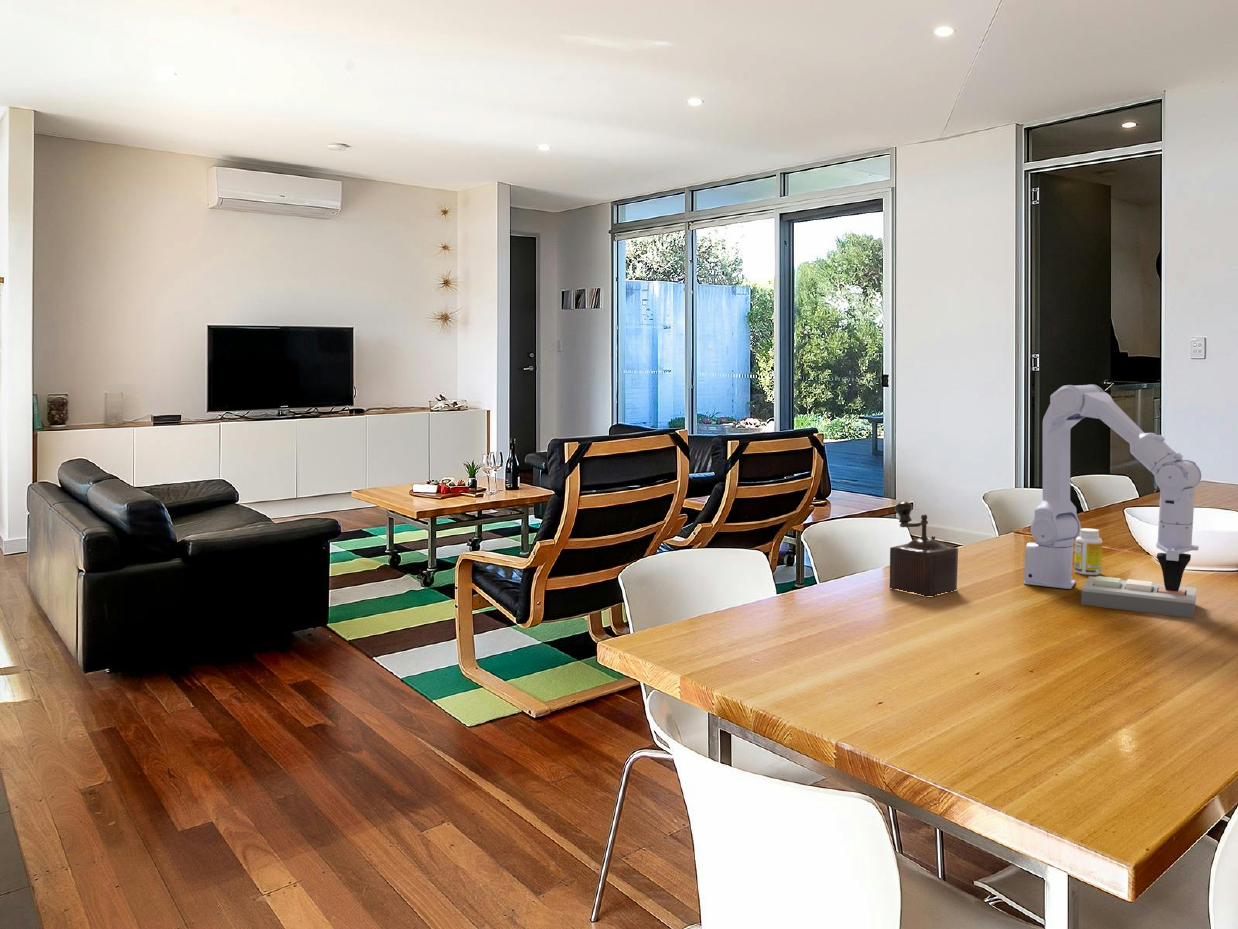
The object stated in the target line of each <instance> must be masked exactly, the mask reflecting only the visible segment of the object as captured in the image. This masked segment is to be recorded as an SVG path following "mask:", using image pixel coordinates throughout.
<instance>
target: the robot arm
mask: <svg viewBox="0 0 1238 929" xmlns="http://www.w3.org/2000/svg"><path fill="white" fill-rule="evenodd" d="M1049 402H1050V404H1049V405H1048V408H1047V410H1046V412H1045V414H1044V416H1043V419H1042V501H1041V502H1040V503H1039V504H1038V505H1037V507H1036V508H1035V509H1034V518H1033V520H1032V522H1031V525H1030V533H1031V535H1032V538H1033V540H1034V541H1035V542H1027V544H1026V545H1025V546H1026V547H1025V553H1024V570H1023V571H1024V572H1023V575H1024V576H1023V584H1025V585H1030V586H1039V587H1040V586H1041V587H1047V588H1056V589H1057V588H1058V589H1064V590H1065V589H1067V590H1071V589H1072V588H1073V586H1074V585H1075V583H1076V579H1072V578H1073V561H1074V560H1073V558H1074V557H1073V556H1074V555H1073V554H1074V544H1075V540H1076V538H1077V537H1079V536H1080V534H1079V533H1080V530H1081V529H1082V527H1081V526H1082V525H1081V522H1080V519H1079V518H1078V514H1077V507H1076V505H1074V503H1073V502H1072V501H1071V430H1072V428H1073V427H1074V426H1076V425H1077V423H1079V422H1080V421H1082V420H1083V419H1085V418H1091V419H1099V420H1100V421H1101V422H1103V423H1104V424H1105V425H1107V426H1108V427H1109V428H1110V429H1111V430H1112V431H1113V432H1115V433H1116V434H1117V435H1119V436H1120V437H1121V438H1122V439H1123V440H1125V442H1127V443H1128V444H1129V452H1130V454H1131V455H1132V456H1133V457H1134V458H1135V459H1136V460H1137V461H1138V462H1140V463H1141V464H1142V465H1143V467H1145V468H1146V469H1147V470H1148V471H1149V472H1150V473H1151V474H1152V475H1154V481H1155V483H1156V485H1157V487H1158V488H1159V496H1160V497H1159V511H1158V512H1159V514H1158V529H1157V542H1156V543H1155V546H1156V548H1157V549H1159V550H1161V551H1163V552H1158V553H1157V554H1156V559H1157V561H1158V563H1159V565H1160V567H1161V572H1162V577H1163V578H1162V579H1163V584H1164V585H1165V589H1166V590H1169V591H1178V590H1179V587H1180V586H1181V583H1182V580H1183V576H1184V572H1185V569H1186V567H1187V566H1188V564H1189V563H1190V561H1191V557H1192V555H1191V554H1190V553H1188V552H1191V551H1199V550H1200V549H1199V545H1196V544H1195V545H1194V544H1193V528H1194V515H1195V514H1194V512H1195V493H1196V492H1195V491H1196V489H1195V487H1197V486H1198V485H1199V484H1200V482H1201V480H1202V471H1201V469H1200V468H1199V466H1198V465H1197V463H1196V462H1195V461H1193V460H1190V459H1183V458H1184V456H1183V455H1182V454H1181V453H1180V452H1179V453H1177V452H1176V451H1175V450H1174V449H1172V447H1171V446H1169V445H1168V444H1167V443H1166V442H1165V440H1166V439H1165V437H1164V436H1163V435H1161V434H1156V433H1155V432H1144V431H1143V430H1142V429H1141V428H1140V427H1139V426H1138V425H1137V423H1135V422H1134V421H1133V420H1132V419H1131V417H1129V416H1128V414H1127V413H1125V412H1124V411H1123V409H1122V408H1121V407H1120V406H1119V405H1118V404H1116V403H1115V401H1114V400H1113V398H1112V396H1111V395H1110V394H1109V393H1108V392H1105V391H1104V389H1103V388H1101V387H1100V386H1098V385H1097V384H1093V383H1092V384H1083V385H1081V384H1080V385H1079V384H1078V385H1073V384H1067V385H1062V386H1061V387H1059V388H1058V389H1057V390H1055V391H1054V392H1053V393H1051V395H1050V396H1049Z"/></svg>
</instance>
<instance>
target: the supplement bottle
mask: <svg viewBox="0 0 1238 929" xmlns="http://www.w3.org/2000/svg"><path fill="white" fill-rule="evenodd" d="M1074 544H1075V545H1074V572H1075V573H1077V574H1079V575H1084V576H1099V575H1100V574H1101V573H1102V565H1103V564H1102V561H1103V560H1102V559H1103V539H1102V538H1101V537H1100V530H1099V529H1097V528H1090V527H1089V528H1088V527H1087V528H1085V527H1084V528H1082V527H1081V530H1080V533H1079V536H1077V537H1076V538H1075V540H1074Z"/></svg>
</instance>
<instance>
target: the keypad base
mask: <svg viewBox="0 0 1238 929" xmlns="http://www.w3.org/2000/svg"><path fill="white" fill-rule="evenodd" d="M1096 577H1097V576H1088V578H1087V579H1086V581H1085V582H1084V584H1083V585H1082V586H1081V599H1080V601H1081V602H1080V603H1081V605H1082V606H1091V607H1099V608H1105V609H1107V608H1108V609H1114V610H1115V609H1116V610H1125V611H1132V612H1139V613H1140V612H1141V613H1149V614H1157V615H1162V616H1163V615H1164V616H1165V615H1166V616H1172V617H1179V618H1188V619H1194V618H1195V611H1196V602H1197V587H1193V586H1183V585H1182V586H1181V585H1180V587H1179V589H1185V596H1183V595H1174V594H1165V593H1158V590H1159V586H1161V587H1165V585H1164V583H1163V584H1161V583H1154V582H1153V586H1152V592H1147V591H1138V590H1129V589H1126V582H1127V580H1128V579H1126V580H1125V579H1121V588H1111V587H1102V586H1094V580H1095V578H1096Z"/></svg>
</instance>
